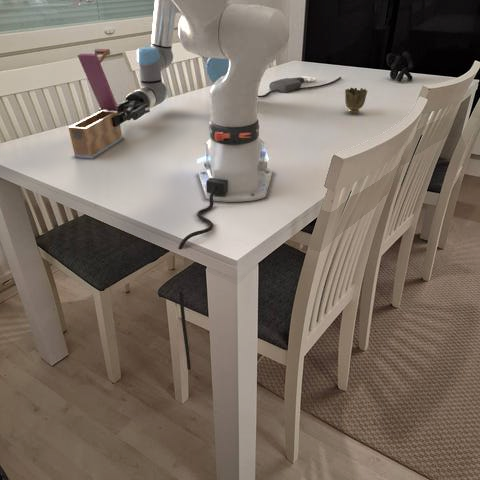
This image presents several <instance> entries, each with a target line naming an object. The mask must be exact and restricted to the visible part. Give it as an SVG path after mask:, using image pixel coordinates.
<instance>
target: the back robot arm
mask: <svg viewBox="0 0 480 480" xmlns="http://www.w3.org/2000/svg"><path fill="white" fill-rule="evenodd" d="M176 15H177V7H176V6H175V4H174V3H173V2H172V1H171V0H154V8H153V18H152V20H153V21H152V31H151V41H150V46H141V47H138V48H137V49H136V61H137V66H138V73H139V80H140V88H138V89H136V90H134V91H132V92H130V93H129V94H127V95H126V97H125V100H123V101H121V102H118V103H117V102H116V104H117V106H118V109H117V110H106V111H118V115H116V116H114V117H113V118H112V122H113V127H116V126H118V125H120V126H121V124H123V123H125V122H126V121H131V120H133V121H137V120H138V119H140V118H141V117H143V116H144V115H146V114H149V113H150V112H151V111H150V110H151V109H153V108H154V107H156V106H158V105H160V104H162V103H163V102H164V101H165V100H166V99H167V98H168V92H169V91H168V88H167V86H166V84H165V83H164V82H163V78H162V71H163V70H165V69H167V68H169V66H171V64H172V63H173V61H174V53H173V51H172V48H173V40H174V32H175V25H176V24H175V23H176ZM201 57H202V60H203V61H204V63H205V68H206V69H205V71H206V75H207V77H208V79H209V81H210V82H212V84H214V83H215V81H217V80H218V79H219V78H221V77H223V76H225V75H227V73H228V69H229V59H219V58H207V57H203V56H201ZM339 80H342V76H339V77H338V78H336V79H334V80H332V81H329V82H327V83H324V84H323V83H322V84H318V85H313V86H306V87H305V86H304V87H300V88H296V89H295V90H294V91H299V90H300V91H301V90H309V89H317V88H321V87H326V86H329V85H332V84H335V83H336V82H338V81H339ZM278 92H279V90H270V91H267V92H266V93H265V94H263V95H258V99H259V98H265V97H267V96H268V95H270V94H272V93H278ZM101 110H105V109H101V108H100V107H99V108H98V112H99V111H101Z"/></svg>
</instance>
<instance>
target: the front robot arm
mask: <svg viewBox="0 0 480 480" xmlns="http://www.w3.org/2000/svg"><path fill="white" fill-rule="evenodd" d="M171 1H172V2H173V3H174V4H175V6H176V9H178V11H179V12H180V14H181V15H180V17H179V21H178V25H177V32H178V34H177V35H178V38H179V41H180V43H181V46H182V47H183V49H184V50H185V51H187V52H189V53H191V54H194V55H197V56H200V57H202V56H203V57H207V58H219V59H229V69H228V73H227V75H225V76H223V77H221V78H219V79H218V80H217V81H215V83H212V85H211V86H210V90H209V102H210V103H209V105H210V106H209V107H210V120H209V126H208V129H209V139H208V140H207V141H206V142H205V143H204V144H205V145H204V148H205V149H204V150H205V152H204V153H205V156H202V157H200V158H198V159H197V160H196V163H197V164H200V163H203V162H204V164H203V165H204V168H203V169H201V170H199V171H198V178H199V181H200V185H201V187H202V190H203V193H204V196H205V199H206V200H209V205H208V206H207V207H205V208H202V209H200V210H198V211H197V217H198V219H200V220H201V221H203V222H205V223H207V224H208V227H206V228H204V229H199V230H196V231H193V232H191V233H189V234H187V235H186V236H185V237H184V238H183V239H182V240H181V241H180V243H179V244H178V245H179V246H178V250H182V249H183V248H184V246H185V244H186V243H187V242H188V241H189V240H190V239H191V238H193V237H196V236H199V235H203V234H206V233H209V232H210V231H211V230H212V229H213V227H214V223H213V222H212V221H211V220H210V219H208V218H206V217H205V216H203V215H202V214H203V213H207V212H208V211H210V210H212V209H213V206H214V202H222V203H223V202H225V203H240V202H253V201H257V200H261V199H264V198H266V196H267V193H268V190H269V187H270V186H269V185H270V183H271V180H272V177H273V170H272V169H271V168H269V167H268V161H269V156H268V154H267V151H266V149H265V141H263V140H262V138H260V121H259V118H258V103H259V101H258V100H259V97H258V96H259V90H260V85H261V82H262V78H263V76H264V74H265V72H266V71H267V69H268V68H269V66H270V65H271V64H272V63H274V62H275V61H276V60H277V59H279V58H280V56H281V55H282V54H283V53H284V51H285V50H286V48H287V45H288V42H289V37H290V28H289V23H288V20H287V17H286V16H285V15H284V13H283V11H281V10H279V9H277V8H274V7H270V6H266V5H262V4H251V3H250V4H245V3H230V0H171ZM86 2H87V4H95V3H96V0H86ZM72 4H73V5H75V6H80V5H82V4H83V1H82V0H72ZM203 57H202V58H203ZM265 159H266V160H265ZM184 300H185V299H184V293H183V292H182V291H181V290H179V308H180V318H181V319H180V320H181V327H182V334H183V341H184V343H183V344H184V350H185V357H186V358H185V359H186V368H187V370H188V371H191V369H192V367H191V357H190V348H189V340H188V331H187V323H186V314H185V301H184Z"/></svg>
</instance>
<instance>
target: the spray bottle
mask: <svg viewBox="0 0 480 480" xmlns="http://www.w3.org/2000/svg"><path fill="white" fill-rule="evenodd" d="M312 81H315V82H316V81H317V78H316V77H313V76H304V75H301V76H300V77H286V78H280V79H277V80H274V81H271V82H270V83H269V85H268V87H269V90H270V91H273V90H279V92H280V93H290V92H293V91H296V90H295V89H296V88H302V83H304V82H312Z"/></svg>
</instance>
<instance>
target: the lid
mask: <svg viewBox="0 0 480 480" xmlns="http://www.w3.org/2000/svg"><path fill="white" fill-rule="evenodd" d="M110 55H111V50H110V49H109V48H95V49H94V52H93V53H78V54H77V58H78V60H79V62H80V64H81V67H82V69H83V72H84V74H85V76H86V80H87V81H88V83H89V85H90V88H91V90H92V92H93V94H94V97H95V99H96V102H97V104H98V106H99V109H100V108H101V109H105V110H117V109H118V106H117V104H118V103H117V102H116V99H115V97H114V94H113V92H112V88H111V87H110V83H109V81H108V79H107V77H106V73H105V71H104V69H103V66H102V64H101V63H102V62H103V61H104V60H105V58H107V56H110ZM99 56H100V57H99ZM116 103H117V104H116Z"/></svg>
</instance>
